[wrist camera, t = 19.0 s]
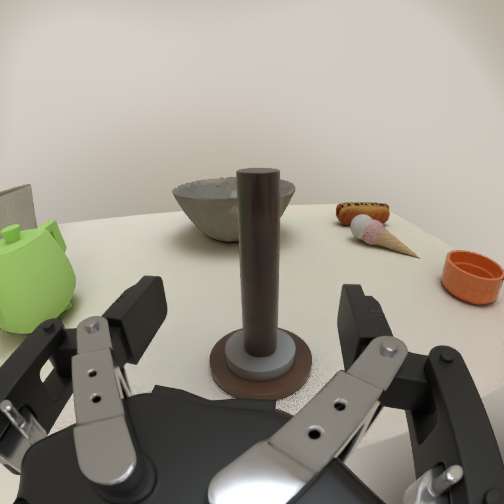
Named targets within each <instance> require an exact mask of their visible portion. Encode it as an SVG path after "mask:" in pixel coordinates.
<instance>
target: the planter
mask: <svg viewBox="0 0 504 504" xmlns="http://www.w3.org/2000/svg"><path fill="white" fill-rule="evenodd" d="M14 224H19V225H20V231H23V230H29V229H37V223H36V217H35V211H34V204H33V197H32V189H31V185H30V184H28V185H23V186H19V187H15V188H12V189H8V190H5V191H2V192H0V232H1V230H2V229H4V228H6V227H8V226H11V225H14ZM2 238H3V237H2V235H1V233H0V240H1V239H2Z"/></svg>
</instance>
